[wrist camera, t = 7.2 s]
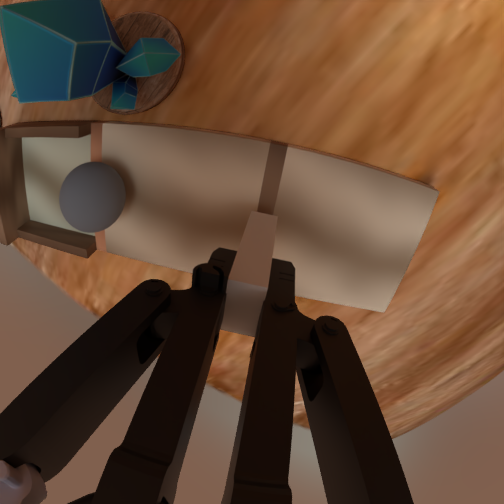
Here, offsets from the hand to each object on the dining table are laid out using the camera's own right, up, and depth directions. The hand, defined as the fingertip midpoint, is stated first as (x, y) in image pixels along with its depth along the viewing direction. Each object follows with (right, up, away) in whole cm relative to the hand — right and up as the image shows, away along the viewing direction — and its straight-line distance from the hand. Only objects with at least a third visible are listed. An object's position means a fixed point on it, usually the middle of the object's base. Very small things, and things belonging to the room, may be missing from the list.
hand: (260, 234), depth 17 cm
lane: (-6, +3, +2) cm, 7 cm away
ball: (-11, +2, -1) cm, 11 cm away
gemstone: (-8, +11, -2) cm, 14 cm away
